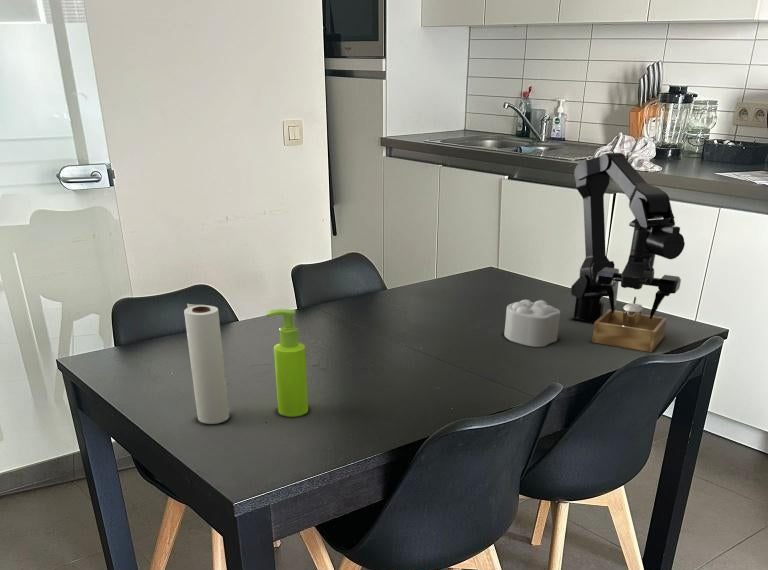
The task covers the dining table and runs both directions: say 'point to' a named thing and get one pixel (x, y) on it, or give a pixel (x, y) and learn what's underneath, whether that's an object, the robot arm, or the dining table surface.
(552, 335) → the lumpy-topped squat cylinder
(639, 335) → the crate
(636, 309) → the silver capped cylinder
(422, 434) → the dining table surface
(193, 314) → the paper towel roll
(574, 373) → the dining table surface
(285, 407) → the soap dispenser
